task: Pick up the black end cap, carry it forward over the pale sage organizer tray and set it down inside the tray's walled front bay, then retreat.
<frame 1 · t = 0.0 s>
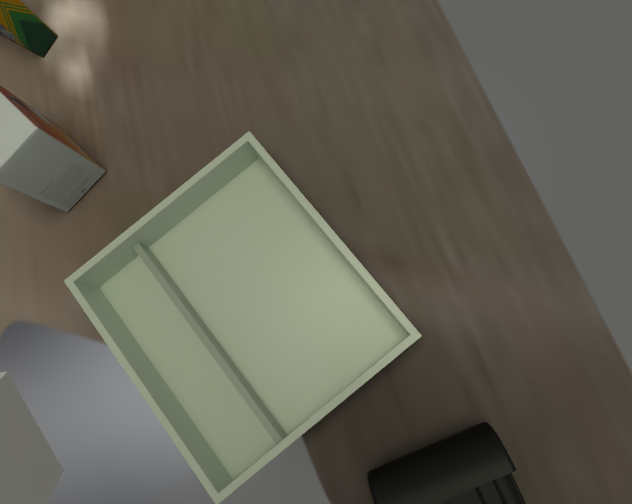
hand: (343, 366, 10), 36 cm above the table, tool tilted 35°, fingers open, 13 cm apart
small box: (63, 168, 53), on the table
crayon box: (25, 34, 56), on the table
organizer tray: (249, 311, 47), on the table
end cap: (441, 481, 43), on the table
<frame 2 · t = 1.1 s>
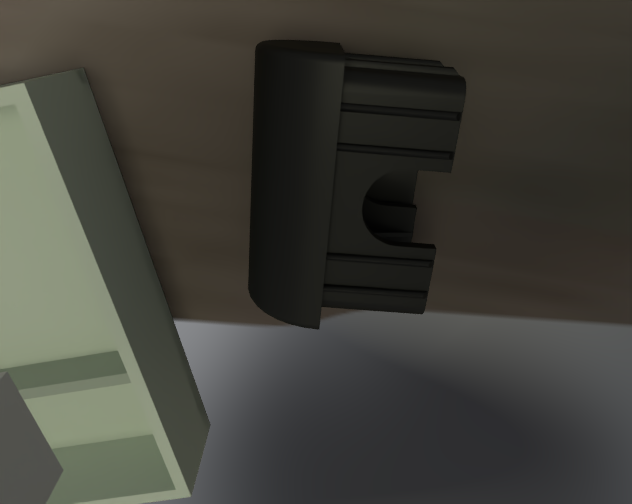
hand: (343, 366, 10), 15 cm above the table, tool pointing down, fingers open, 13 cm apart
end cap: (338, 158, 25), on the table
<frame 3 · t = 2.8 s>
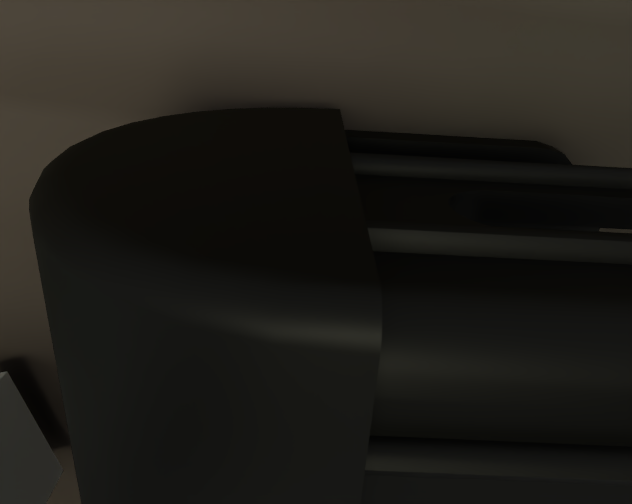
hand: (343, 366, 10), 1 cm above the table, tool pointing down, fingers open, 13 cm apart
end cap: (342, 341, 11), on the table
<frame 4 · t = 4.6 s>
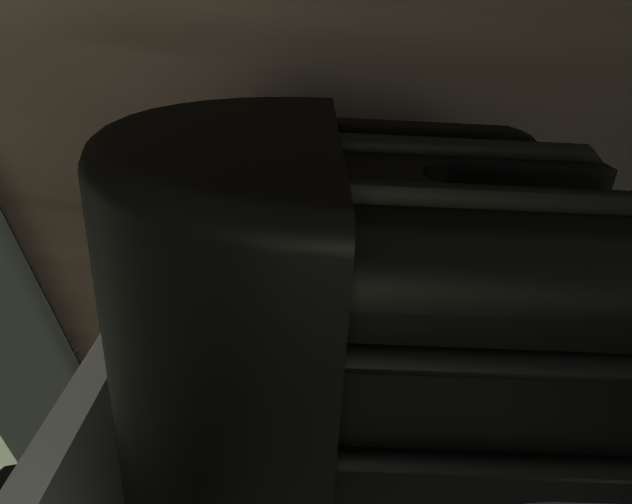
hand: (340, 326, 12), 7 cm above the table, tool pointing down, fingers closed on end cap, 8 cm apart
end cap: (338, 313, 12), point 7 cm above the table, touching gripper
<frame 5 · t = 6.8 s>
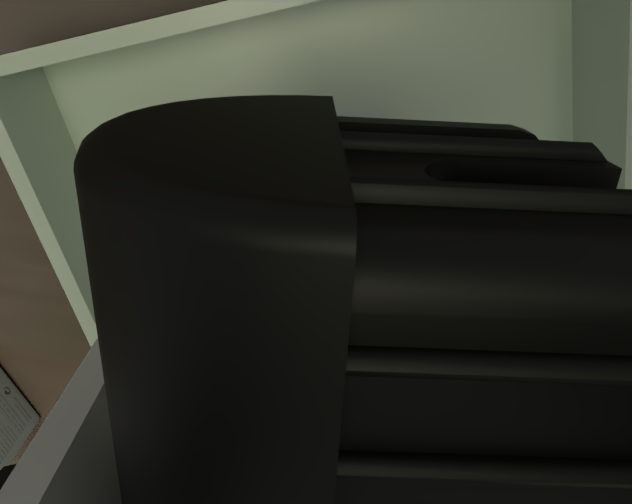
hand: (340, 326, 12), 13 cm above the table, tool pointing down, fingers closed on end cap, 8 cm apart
organizer tray: (340, 221, 25), on the table
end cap: (338, 313, 12), point 13 cm above the table, touching gripper
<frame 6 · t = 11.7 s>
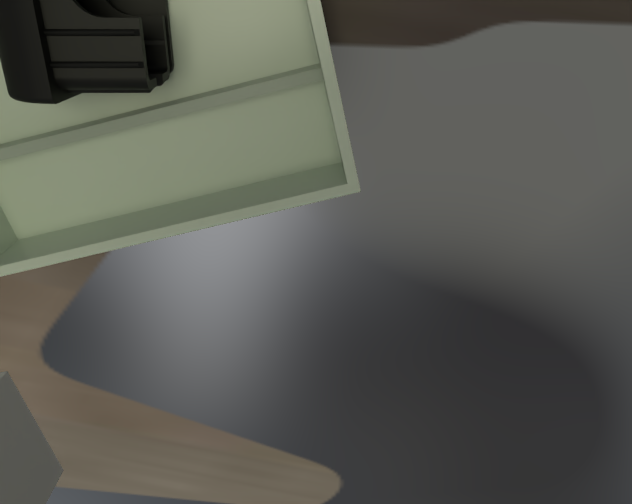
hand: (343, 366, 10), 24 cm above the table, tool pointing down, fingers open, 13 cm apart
organizer tray: (121, 41, 30), on the table
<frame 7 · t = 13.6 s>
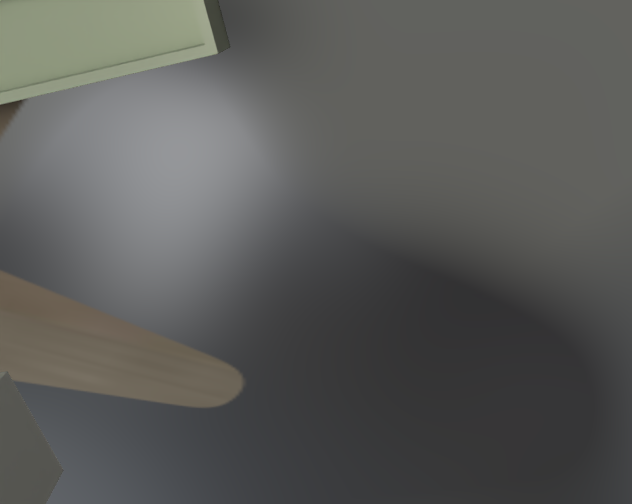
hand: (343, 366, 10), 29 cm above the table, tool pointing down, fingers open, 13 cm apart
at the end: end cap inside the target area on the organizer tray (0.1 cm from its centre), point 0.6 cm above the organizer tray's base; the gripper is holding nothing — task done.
